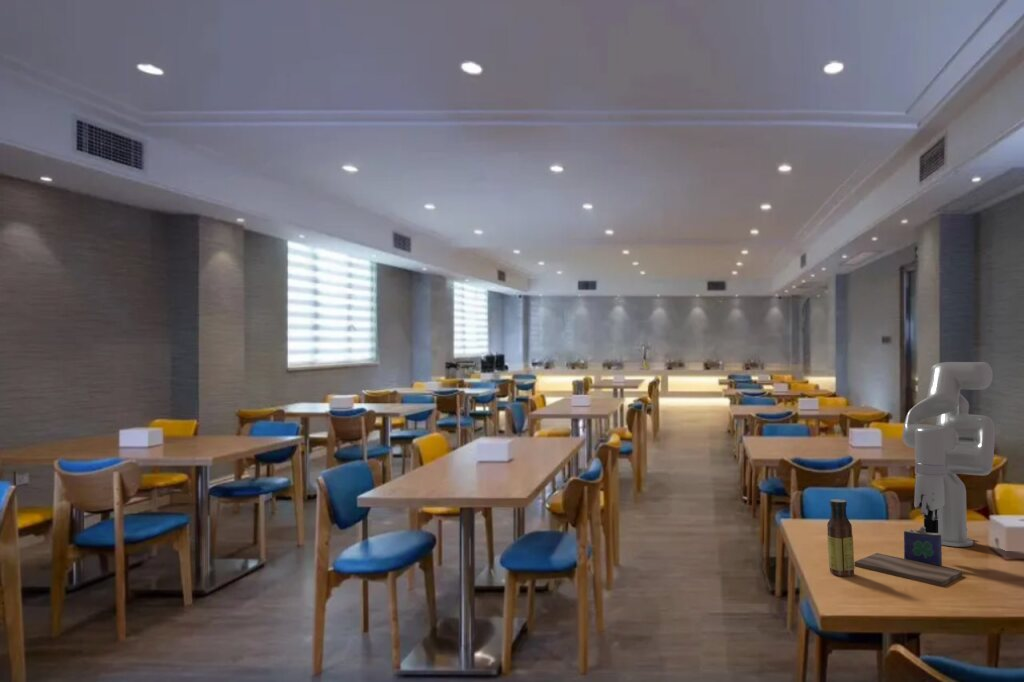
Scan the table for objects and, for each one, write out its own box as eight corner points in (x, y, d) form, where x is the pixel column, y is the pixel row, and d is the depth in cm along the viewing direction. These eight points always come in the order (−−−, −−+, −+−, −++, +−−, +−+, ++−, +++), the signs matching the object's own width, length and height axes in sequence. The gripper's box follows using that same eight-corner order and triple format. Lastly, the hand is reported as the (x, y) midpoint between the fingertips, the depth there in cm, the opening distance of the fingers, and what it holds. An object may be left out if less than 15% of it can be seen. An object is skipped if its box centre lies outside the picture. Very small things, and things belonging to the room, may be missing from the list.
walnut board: (876, 556, 199) (876, 552, 199) (962, 575, 182) (962, 571, 182) (854, 566, 190) (854, 561, 190) (942, 586, 173) (941, 581, 173)
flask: (941, 564, 191) (940, 526, 192) (942, 567, 189) (942, 529, 189) (903, 560, 195) (903, 523, 196) (904, 563, 193) (904, 525, 193)
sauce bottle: (852, 571, 185) (851, 498, 186) (856, 578, 179) (855, 503, 180) (826, 569, 187) (825, 497, 188) (829, 576, 181) (828, 501, 182)
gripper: (926, 465, 205) (927, 526, 204) (905, 470, 196) (906, 534, 195) (954, 468, 199) (955, 531, 198) (934, 474, 190) (935, 539, 189)
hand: (931, 532), depth 197 cm, fingers closed
